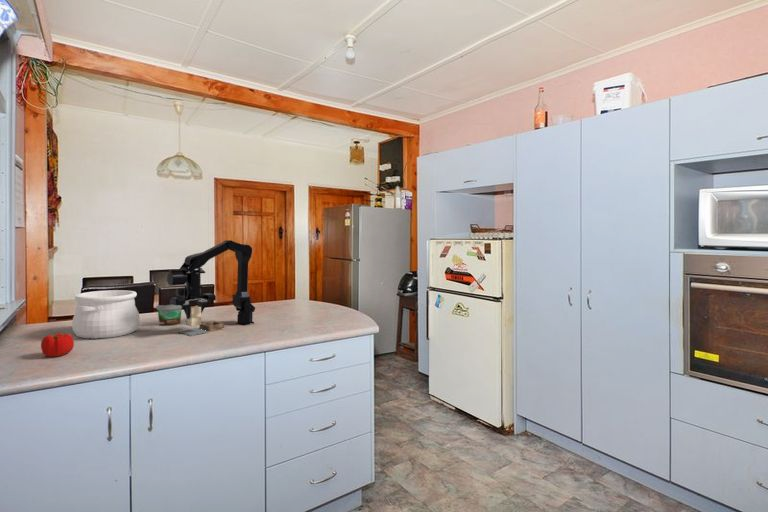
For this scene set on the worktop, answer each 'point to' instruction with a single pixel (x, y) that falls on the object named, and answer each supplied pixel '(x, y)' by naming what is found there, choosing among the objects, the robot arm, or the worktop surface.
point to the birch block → (194, 316)
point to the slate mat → (193, 331)
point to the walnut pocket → (211, 326)
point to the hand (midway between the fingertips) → (193, 318)
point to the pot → (105, 314)
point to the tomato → (57, 344)
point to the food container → (169, 314)
